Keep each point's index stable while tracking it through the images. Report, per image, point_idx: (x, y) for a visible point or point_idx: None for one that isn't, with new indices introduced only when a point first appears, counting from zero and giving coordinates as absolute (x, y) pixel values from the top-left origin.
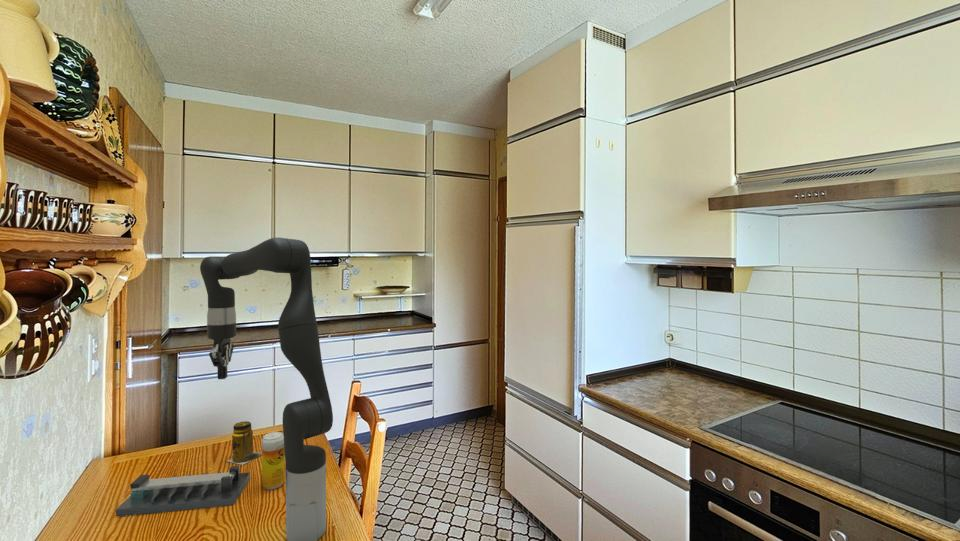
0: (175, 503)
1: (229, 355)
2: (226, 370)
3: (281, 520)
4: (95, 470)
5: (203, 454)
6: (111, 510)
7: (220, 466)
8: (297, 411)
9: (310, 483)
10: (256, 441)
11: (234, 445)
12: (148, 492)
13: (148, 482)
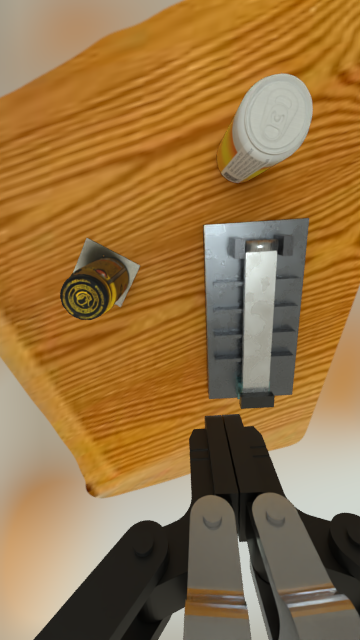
0: (298, 317)
1: (224, 636)
2: (229, 456)
3: None
4: (140, 483)
5: (88, 362)
6: None
7: (141, 308)
8: None
9: None
10: (21, 280)
11: (119, 297)
12: None
13: (255, 386)
